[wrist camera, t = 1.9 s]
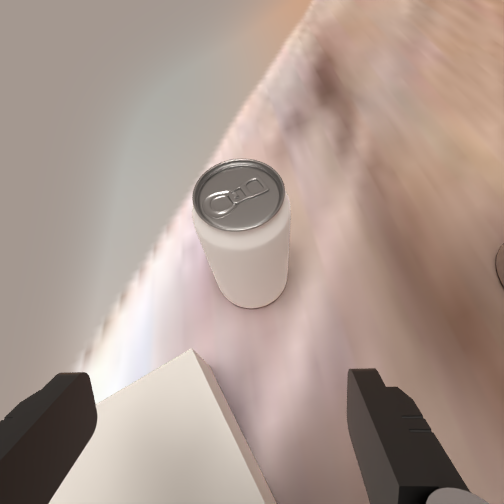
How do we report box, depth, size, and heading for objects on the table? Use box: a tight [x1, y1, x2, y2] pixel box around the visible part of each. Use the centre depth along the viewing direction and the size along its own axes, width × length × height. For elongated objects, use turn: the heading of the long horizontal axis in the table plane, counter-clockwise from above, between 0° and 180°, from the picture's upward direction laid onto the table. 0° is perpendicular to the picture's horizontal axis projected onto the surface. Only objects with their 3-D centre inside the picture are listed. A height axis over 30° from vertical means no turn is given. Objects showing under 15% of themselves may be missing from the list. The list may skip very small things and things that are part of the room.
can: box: [192, 159, 291, 308], centre depth 24 cm, size 6×6×12 cm
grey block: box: [48, 348, 277, 504], centre depth 19 cm, size 12×12×6 cm
